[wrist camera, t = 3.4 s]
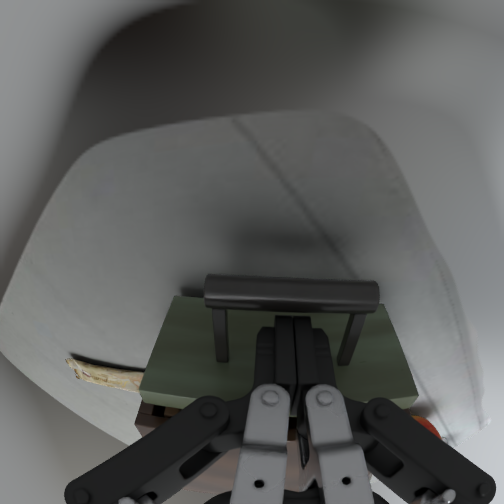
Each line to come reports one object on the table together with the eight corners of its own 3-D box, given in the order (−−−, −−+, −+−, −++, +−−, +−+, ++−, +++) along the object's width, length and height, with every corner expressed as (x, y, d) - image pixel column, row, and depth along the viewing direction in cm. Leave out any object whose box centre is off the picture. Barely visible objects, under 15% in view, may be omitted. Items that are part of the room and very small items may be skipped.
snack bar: (152, 375, 23) (156, 401, 24) (157, 367, 25) (160, 392, 25) (64, 358, 24) (70, 382, 24) (71, 351, 25) (77, 375, 26)
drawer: (164, 223, 16) (107, 310, 10) (404, 235, 16) (464, 322, 9) (195, 401, 25) (181, 471, 18) (341, 406, 24) (350, 476, 18)
